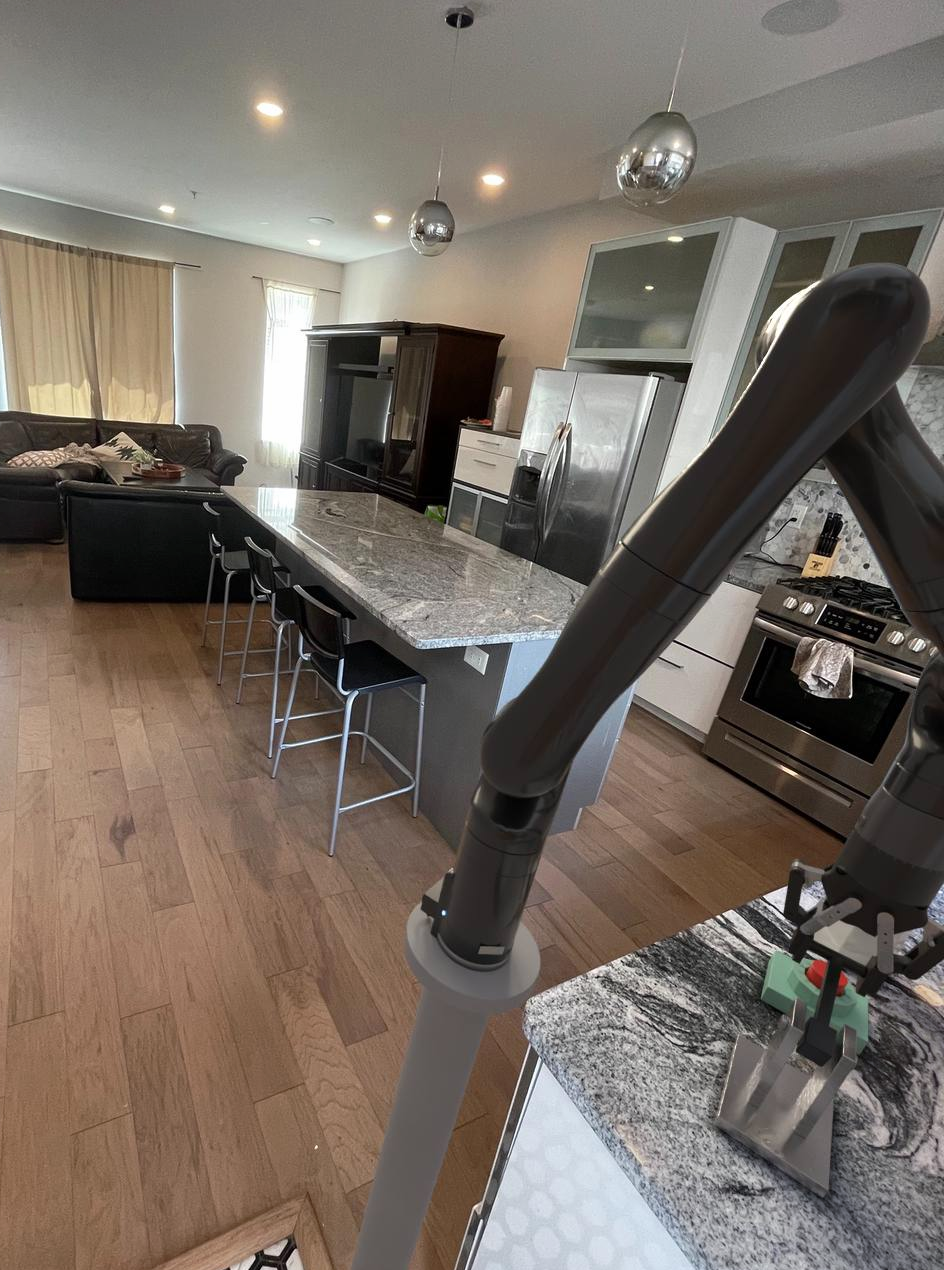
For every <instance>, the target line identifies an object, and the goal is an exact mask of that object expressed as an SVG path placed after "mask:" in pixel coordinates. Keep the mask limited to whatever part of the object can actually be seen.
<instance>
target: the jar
mask: <svg viewBox="0 0 944 1270" xmlns="http://www.w3.org/2000/svg"><path fill="white" fill-rule="evenodd" d="M913 931H914V930H910V931H906V932H902V933H898V934H894V954H898V955H899V953H900V951H901V950H902V948H903V946H904V945H905V944H906V942H907V940H908V939H909V938H910V936H911V934H912V933H913ZM814 941H816V942H818V943H820V944H822V945H825V946H827V947H829V948H831V949H833V950H835V951H837V952H839V953H841V954H843V955H845V956H847V957H849V958H851V959H853V960H855V961H857V962H859V963H861V964H863V965H865V966H866V965H867V963H868V961H869V960H870V958H871V957H872V955H873V956H875V957H876V955H877V935H876V937H873V936H871V935H869V934H867V933H865V932H864V931H862V930H861V929H860V928H858V927H856V926H852V925H849V924H846V923H844V922H842V921H840V920H839V921H837V922H836V923H834V924H832V925H831V926H829V927H827V926H826V927H824V928H822V929H821V930H819V931H817V932H816V933H814Z"/></svg>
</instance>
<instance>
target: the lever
mask: <svg viewBox="0 0 944 1270" xmlns="http://www.w3.org/2000/svg"><path fill="white" fill-rule="evenodd" d="M807 951H808V952H811V953H812V954H815V955H816V956H819V957H820V958H823V959H825V960H827V961H826V962H827V965H826V969H825V973H824V977H823V981H822V985H821V989H820V993H819V997H818V1001H817V1005H816V1009H815V1013H814V1017H810V1018H809V1019H808V1020H807V1022H806V1023H805V1028H804V1034H803V1035H802V1037H801V1039H800V1040H799V1042H798V1044H797V1045H796V1047H795V1053H796V1054H797V1055H800V1056H802V1057H803V1058H805V1059H806V1060H808V1061H810V1062H812V1063H813V1064H816V1065H817V1066H818V1065H819V1066H820V1067H823V1066H824V1065H825V1064H826V1063H827V1062H828V1061H829V1060H830V1059H831V1058H832V1055H833V1051H834V1046H835V1041H836V1037H837V1030H835V1029H833V1028H831V1027H829V1024H830V1020H831V1015H832V1011H833V1007H834V1002H835V998H836V993H837V989H838V985H839V980H840V976H841V972H843V969H844V970H846V971H848V972H850V973H852V974H854V975H856V976H858V977H859V976H860V977H862V978H864V977H865V975H866V973H867V971H868V967H867V966H865V965H863V964H861V963H859V962H857V961H855V960H853V959H851V958H849V957H847V956H845V955H843V954H841V953H839V952H837V951H835V950H833V949H831V948H829V947H827V946H825V945H822V944H820V943H818V942H816V941H814V940H813V941H812V943H811V945H810V947H809V948H808V950H807Z"/></svg>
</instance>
